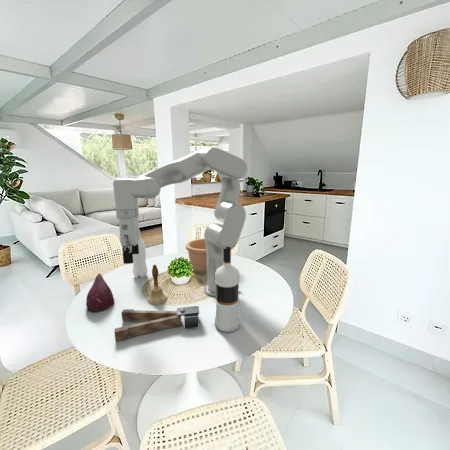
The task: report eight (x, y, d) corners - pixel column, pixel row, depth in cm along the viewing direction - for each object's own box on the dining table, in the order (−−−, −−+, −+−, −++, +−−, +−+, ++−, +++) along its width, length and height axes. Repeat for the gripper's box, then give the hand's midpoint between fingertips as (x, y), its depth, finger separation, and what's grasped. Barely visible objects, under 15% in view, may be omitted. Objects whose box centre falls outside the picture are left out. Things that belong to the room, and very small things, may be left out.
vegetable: (96, 306, 111) (92, 272, 111) (119, 304, 110) (115, 269, 110) (81, 314, 100) (76, 277, 101) (106, 311, 100) (101, 274, 100)
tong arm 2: (181, 318, 96) (181, 310, 95) (180, 321, 94) (179, 313, 93) (124, 317, 97) (123, 309, 96) (122, 320, 95) (121, 312, 94)
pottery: (229, 273, 136) (229, 248, 132) (188, 278, 131) (187, 251, 128) (220, 259, 156) (220, 237, 153) (184, 262, 151) (183, 239, 148)
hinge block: (198, 315, 98) (198, 302, 96) (199, 327, 91) (199, 313, 90) (177, 318, 97) (177, 304, 95) (177, 329, 90) (176, 315, 89)
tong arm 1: (180, 322, 93) (179, 314, 92) (181, 326, 91) (181, 317, 90) (115, 337, 85) (114, 328, 84) (115, 341, 83) (114, 332, 83)
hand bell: (143, 301, 108) (140, 267, 104) (156, 293, 115) (153, 260, 112) (158, 306, 105) (155, 270, 101) (171, 297, 112) (169, 263, 108)
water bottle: (150, 275, 134) (147, 229, 129) (139, 280, 128) (135, 232, 123) (141, 272, 138) (137, 228, 132) (130, 277, 132) (125, 230, 126)
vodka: (215, 334, 87) (214, 252, 80) (214, 318, 96) (212, 243, 89) (241, 332, 88) (242, 250, 81) (238, 316, 97) (238, 242, 90)
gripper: (132, 217, 82) (137, 266, 86) (143, 209, 99) (146, 250, 103) (108, 218, 81) (114, 268, 85) (123, 209, 98) (127, 251, 102)
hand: (131, 258), depth 94 cm, fingers open, 9 cm apart
